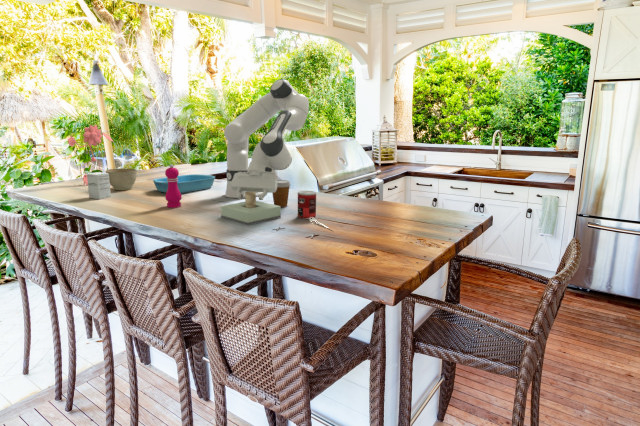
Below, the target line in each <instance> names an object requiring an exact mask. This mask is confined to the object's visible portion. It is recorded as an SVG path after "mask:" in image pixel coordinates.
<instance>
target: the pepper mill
mask: <svg viewBox="0 0 640 426" xmlns="http://www.w3.org/2000/svg"><path fill="white" fill-rule="evenodd" d="M164 175H165V177H167V181H168V190H167V192H166V193H165V197H164V198H165V200H166V201H167V203H166V206H167V208H169V209H170V208H171V209H172V208H173V209H175V208H177V209H178V208H180V207H181V206H182V203H181V200H182V193H180V191H179V189H178V186H177V181H178V178H177V177H178V176H180V172H179V170H178V168H176V167H175V166H174V164H172V163H171V164H169V167H168V168H166V170H165V172H164Z"/></svg>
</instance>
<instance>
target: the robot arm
mask: <svg viewBox="0 0 640 426" xmlns="http://www.w3.org/2000/svg"><path fill="white" fill-rule="evenodd" d="M269 90H270V92H267V93H266V94H265V95H263V96H261V97H260V98H259V99H257V101H255V102H254V103H253V104H251V106H250V107H248V108H247V109H246V110H245V111H243V112H241V113H240V114H239V115H238V116H237V117H235V118H234V119H233V120H232V121H230V122H229V123H228V124H227V125H226V126H225V128H224V132H223V134H224V137H225V139H226V140H227V149H226V189H225V194H224V197H227V198H230V199H231V198H233V199H235V198H236V199H239V200H242V199H243V198H244V199H245V192H248V191H253V192H256V197H258V200H259V201H263V200H264V198H265V197H266V196H267V195H268V193H269V194H273V193H275V192H276V190H277V184H278V183H277V180H278V175H277V172H276V171H284V170H286V169H287V168H289V166H291V164H292V162H293V157H292V155H291V152H290V151H289V150H288V148H287V146H286V143H285V141H284V137H283V136H284V133H285V131H286V130H287V131H289V132H296V131H299V130H301V129H302V128H303V126H304V125H305V124H306V120H307V118H308V113H309V108H310V102H309V101H310V100H309V99H308V97H306V95H304V94H302V93H299V92H298V91H297V90H296V89H295V88H294V87H293V86H292V85H291V83H290V82H289V81H288V80H286V79H285V78H279V79H277V80H275V81H274V82H273V83H272V84H271V86H270V89H269ZM277 114H278V115H277ZM275 115H276V117H275V119H274V120H273V123H272V125H271V127H270V128H269V130H268V131H267V132H266V134H265V135H264V136H263V137H262V138H261V140H260V141H259V142H258V143H257V144H256V146H255V147H254V149H253V151H252V155H251V161H250V162H249V137H250V136H252V135H253V134H254V133H255V132H256V131H258V130H259V129H260V128H261V127H262V126H264V125H265V124H266V123H267V122H268V121H271V119H272V118H273V117H274V116H275Z"/></svg>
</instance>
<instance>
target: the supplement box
mask: <svg viewBox="0 0 640 426" xmlns="http://www.w3.org/2000/svg"><path fill="white" fill-rule="evenodd" d="M86 175H87V181H88V186H87V188H88V189H87V190H88V197H89V199H95V200H103V199H108V198H111V184H110V182H109V173H106V172H101V171H98V172H97V171H96V172H90V173H86Z"/></svg>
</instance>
